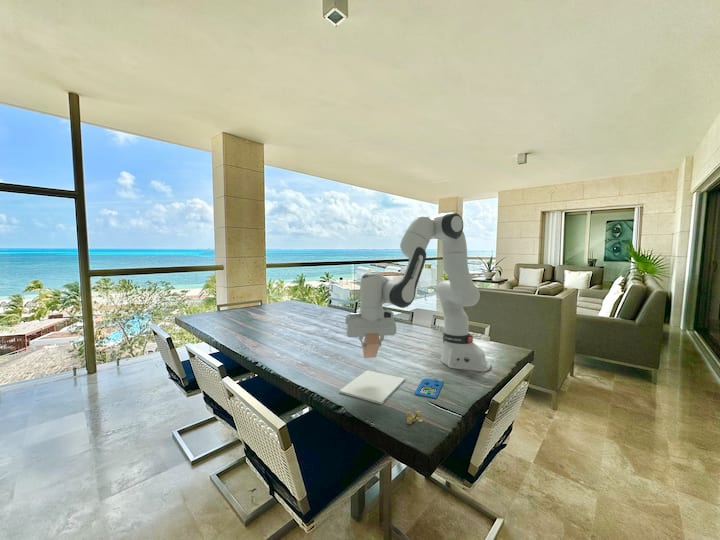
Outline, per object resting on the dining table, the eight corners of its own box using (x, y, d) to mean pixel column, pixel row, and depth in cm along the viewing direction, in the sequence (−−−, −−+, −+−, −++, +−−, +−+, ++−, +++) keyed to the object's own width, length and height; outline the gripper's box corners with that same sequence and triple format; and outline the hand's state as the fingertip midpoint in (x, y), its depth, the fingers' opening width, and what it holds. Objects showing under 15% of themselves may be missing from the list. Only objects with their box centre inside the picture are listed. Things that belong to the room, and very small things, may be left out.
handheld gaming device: (443, 380, 120) (436, 397, 106) (443, 383, 120) (436, 400, 106) (423, 377, 123) (413, 392, 110) (423, 379, 124) (413, 395, 110)
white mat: (404, 380, 122) (404, 378, 122) (381, 404, 103) (381, 402, 103) (366, 371, 131) (366, 370, 131) (339, 392, 112) (339, 390, 112)
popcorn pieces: (407, 426, 91) (407, 420, 91) (404, 416, 96) (404, 411, 96) (423, 425, 92) (423, 419, 91) (419, 416, 97) (419, 410, 96)
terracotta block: (374, 346, 126) (378, 332, 117) (375, 357, 123) (380, 343, 114) (362, 347, 126) (365, 333, 117) (364, 358, 122) (367, 344, 113)
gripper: (346, 315, 113) (346, 350, 114) (397, 313, 117) (397, 347, 117) (344, 312, 120) (345, 345, 121) (393, 310, 123) (393, 342, 124)
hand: (371, 346), depth 119 cm, fingers closed on terracotta block, 5 cm apart
